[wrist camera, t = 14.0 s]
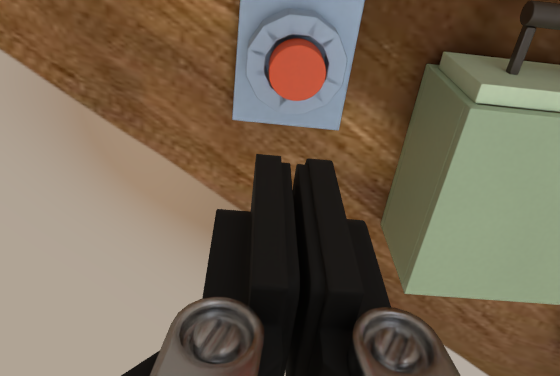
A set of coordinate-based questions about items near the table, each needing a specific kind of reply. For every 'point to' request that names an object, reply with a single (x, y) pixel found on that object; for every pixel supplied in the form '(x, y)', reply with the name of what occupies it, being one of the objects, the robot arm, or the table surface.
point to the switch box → (278, 28)
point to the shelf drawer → (511, 69)
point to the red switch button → (296, 69)
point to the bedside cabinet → (476, 199)
